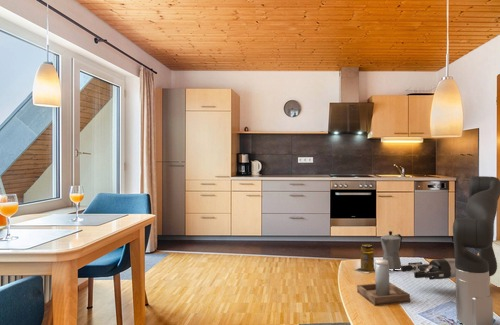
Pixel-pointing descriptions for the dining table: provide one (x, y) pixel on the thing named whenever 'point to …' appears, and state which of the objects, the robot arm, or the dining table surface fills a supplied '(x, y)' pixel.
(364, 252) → the condiment
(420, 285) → the dining table surface
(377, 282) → the salt shaker
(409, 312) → the dining table surface
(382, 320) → the dining table surface
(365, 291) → the tray
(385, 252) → the coffeepot
